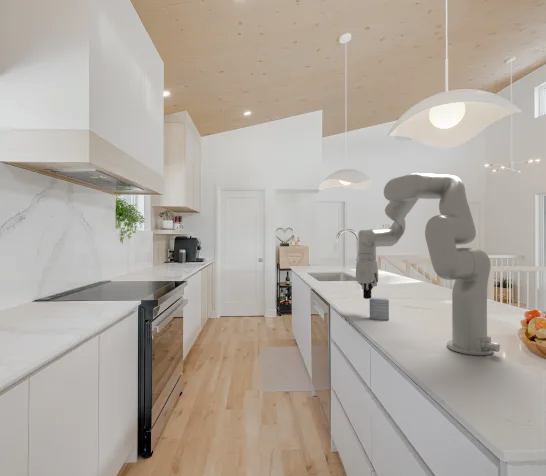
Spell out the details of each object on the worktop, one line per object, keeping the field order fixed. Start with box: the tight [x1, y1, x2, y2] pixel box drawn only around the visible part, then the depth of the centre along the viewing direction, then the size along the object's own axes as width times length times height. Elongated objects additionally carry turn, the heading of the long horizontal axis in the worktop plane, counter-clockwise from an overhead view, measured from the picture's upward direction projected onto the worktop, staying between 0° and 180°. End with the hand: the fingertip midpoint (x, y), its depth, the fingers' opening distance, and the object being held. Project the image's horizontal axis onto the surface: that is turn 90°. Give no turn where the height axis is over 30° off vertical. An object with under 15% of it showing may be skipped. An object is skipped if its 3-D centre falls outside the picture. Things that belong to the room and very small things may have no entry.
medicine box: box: [369, 297, 390, 321], centre depth 151 cm, size 8×4×9 cm, turn 74°
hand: (367, 298), depth 157 cm, fingers closed
